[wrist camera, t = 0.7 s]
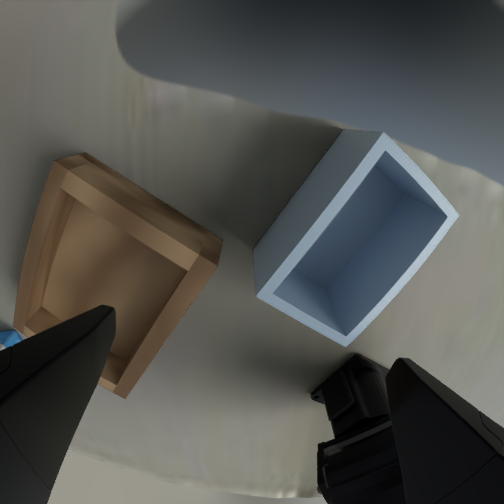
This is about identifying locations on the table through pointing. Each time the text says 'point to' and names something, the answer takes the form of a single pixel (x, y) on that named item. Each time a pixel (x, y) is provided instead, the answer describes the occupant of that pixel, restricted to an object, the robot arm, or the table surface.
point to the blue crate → (350, 236)
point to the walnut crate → (111, 263)
